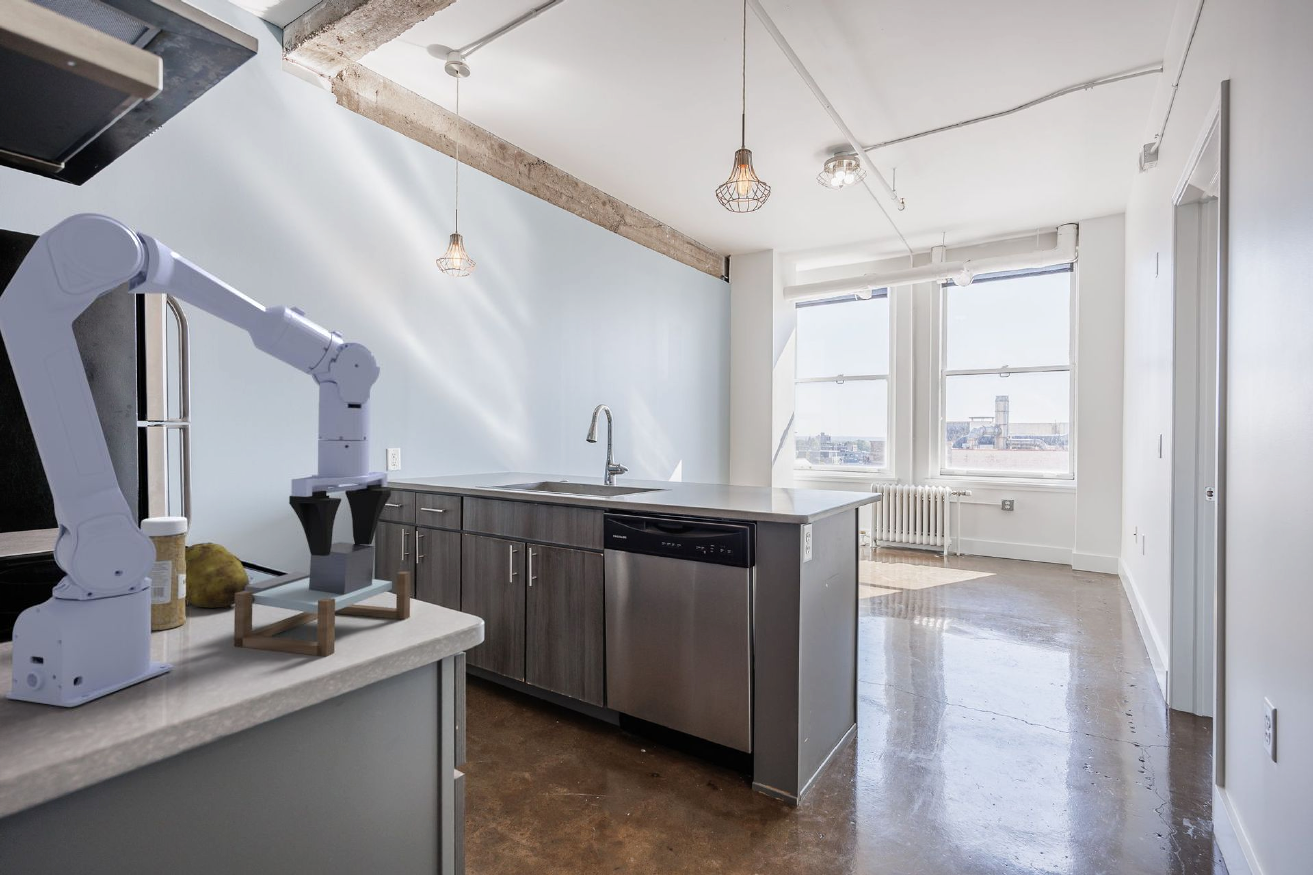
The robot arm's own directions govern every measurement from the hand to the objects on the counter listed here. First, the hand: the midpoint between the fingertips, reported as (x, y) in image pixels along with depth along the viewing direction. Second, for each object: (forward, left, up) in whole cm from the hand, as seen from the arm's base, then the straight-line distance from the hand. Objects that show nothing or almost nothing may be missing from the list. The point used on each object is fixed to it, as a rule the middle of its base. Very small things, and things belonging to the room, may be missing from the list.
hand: (342, 549), depth 78 cm
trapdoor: (-1, +3, -6) cm, 7 cm away
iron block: (0, 0, -5) cm, 5 cm away
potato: (+5, +26, -10) cm, 28 cm away
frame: (-1, +1, -10) cm, 10 cm away
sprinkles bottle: (-5, +22, -10) cm, 24 cm away
